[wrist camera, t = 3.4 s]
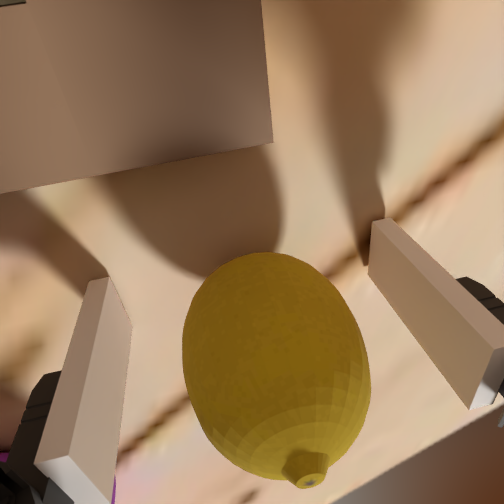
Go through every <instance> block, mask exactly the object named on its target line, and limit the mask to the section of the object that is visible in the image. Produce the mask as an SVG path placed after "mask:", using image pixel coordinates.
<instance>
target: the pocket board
mask: <svg viewBox="0 0 504 504" xmlns="http://www.w3.org/2000/svg"><path fill="white" fill-rule="evenodd" d="M268 143H273V131H272V120H271V109H270V97H269V86H268V75H267V64H266V53H265V41H264V30H263V19H262V8H261V0H0V194H2V193H7V192H12V191H18V190H23V189H28V188H34V187H39V186H44V185H50V184H55V183H60V182H66V181H71V180H76V179H82V178H87V177H92V176H98V175H103V174H108V173H114V172H119V171H124V170H130V169H135V168H140V167H146V166H151V165H156V164H162V163H167V162H172V161H178V160H183V159H188V158H194V157H199V156H204V155H210V154H215V153H220V152H226V151H231V150H236V149H242V148H247V147H252V146H257V145H263V144H268Z"/></svg>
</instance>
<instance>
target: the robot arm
mask: <svg viewBox="0 0 504 504" xmlns="http://www.w3.org/2000/svg"><path fill="white" fill-rule="evenodd" d="M368 275H369V277H370V278H371V280H372V281H373V282H374V284H375V285H376V286H377V288H378V289H379V290H380V292H381V293H382V294H383V296H384V297H385V298H386V300H387V301H388V302H389V304H390V305H391V306H392V308H393V309H394V310H395V312H396V313H397V314H398V316H399V317H400V318H401V320H402V321H403V322H404V324H405V325H406V326H407V328H408V329H409V331H410V332H411V333H412V335H413V336H414V337H415V339H416V340H417V341H418V343H419V344H420V345H421V347H422V348H423V349H424V351H425V352H426V353H427V355H428V356H429V357H430V359H431V360H432V361H433V363H434V364H435V365H436V367H437V368H438V369H439V371H440V372H441V373H442V375H443V376H444V377H445V379H446V380H447V382H448V383H449V384H450V386H451V387H452V388H453V390H454V391H455V392H456V394H457V395H458V396H459V398H460V399H461V400H462V402H463V403H464V404H465V406H466V407H467V408H468V410H472V409H475V408H479V407H483V406H487V405H491V404H493V403H494V400H495V398H496V396H497V394H498V392H499V393H500V394H501V395H502V396H503V397H504V303H503V302H502V301H501V300H500V299H499V298H496V297H495V295H494V294H493V293H492V292H491V291H489V290H488V289H487V288H486V287H485V286H484V285H482V284H480V283H478V282H476V281H474V280H472V279H470V278H468V277H463V278H458V279H455V278H453V277H452V276H451V275H450V274H449V273H448V272H447V271H446V270H445V269H444V268H443V267H442V266H441V265H440V264H439V263H438V262H437V261H435V260H434V259H433V258H432V257H431V256H430V255H429V254H428V253H427V252H426V251H425V250H424V249H423V248H422V247H421V246H420V245H419V244H417V243H416V242H415V241H414V240H413V239H412V238H411V237H410V236H409V235H408V234H407V233H406V232H405V231H404V230H403V229H402V228H401V227H399V226H398V225H397V224H396V223H395V222H394V221H393V220H392V219H391V218H386V219H381V220H376V221H372V228H371V240H370V252H369V264H368ZM132 328H133V327H132V324H131V322H130V320H129V318H128V316H127V314H126V311H125V309H124V307H123V305H122V303H121V301H120V298H119V296H118V294H117V292H116V290H115V288H114V285H113V283H112V281H111V279H110V277H106V278H101V279H96V280H92V281H89V283H88V286H87V289H86V293H85V296H84V299H83V302H82V306H81V309H80V312H79V316H78V319H77V322H76V326H75V329H74V332H73V335H72V339H71V342H70V345H69V349H68V352H67V355H66V359H65V362H64V365H63V368H62V370H61V371H57V372H53V373H48V374H44V375H43V377H42V378H41V379H40V381H39V382H38V383H37V385H36V386H35V387H34V389H33V390H32V392H31V395H30V398H29V400H28V403H27V406H26V410H25V411H24V414H23V417H22V419H21V425H19V428H18V430H17V433H16V436H15V439H14V441H13V444H12V447H11V449H10V452H9V455H8V458H7V460H6V462H2V461H0V504H111V501H112V493H113V485H114V477H115V468H116V460H117V452H118V444H119V435H120V427H121V419H122V411H123V402H124V394H125V386H126V377H127V369H128V361H129V353H130V344H131V336H132ZM503 425H504V409H503V411H502V413H501V415H500V417H499V419H498V427H503Z"/></svg>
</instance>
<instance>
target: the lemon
mask: <svg viewBox="0 0 504 504" xmlns="http://www.w3.org/2000/svg"><path fill="white" fill-rule="evenodd" d="M182 359H183V373H184V378H185V383H186V387H187V391H188V394H189V397H190V400H191V403H192V406H193V408H194V411H195V413H196V415H197V418H198V420H199V422H200V425H201V427H202V429H203V431H204V433H205V434H206V436H207V438H208V439H209V441H210V442H211V443H212V444H213V445H214V447H215V448H216V449H217V450H218V451H219V452H220V453H221V454H222V455H223V456H224V457H226V458H227V459H228V460H229V461H231V462H232V463H233V464H234V465H236V466H238V467H240V468H242V469H243V470H245V471H247V472H250V473H252V474H254V475H257V476H260V477H263V478H268V479H273V480H289V481H290V482H291V483H292V484H294V485H295V486H296V487H298V488H301V489H306V488H311V487H314V486H316V485H318V484H320V483H321V482H322V481H323V480H324V479H325V476H326V473H327V470H328V467H330V466H331V465H333V464H334V463H335V462H336V461H338V460H339V459H340V458H341V457H342V456H343V455H344V454H345V453H346V452H347V451H348V449H349V448H350V447H351V445H352V444H353V442H354V441H355V439H356V438H357V436H358V434H359V432H360V430H361V428H362V426H363V424H364V421H365V418H366V414H367V411H368V407H369V404H370V396H371V379H370V370H369V363H368V357H367V352H366V348H365V344H364V341H363V338H362V335H361V332H360V329H359V327H358V324H357V322H356V320H355V318H354V316H353V314H352V312H351V311H350V309H349V307H348V305H347V304H346V302H345V300H344V299H343V297H342V296H341V294H340V293H339V291H338V290H337V289H336V288H335V286H334V285H333V284H332V283H331V282H330V281H329V280H328V279H327V278H325V277H324V276H323V275H322V274H321V273H319V272H318V271H317V270H316V269H315V268H313V267H312V266H311V265H309V264H307V263H305V262H303V261H301V260H299V259H296V258H294V257H292V256H289V255H285V254H279V253H273V252H261V253H251V254H248V255H244V256H241V257H237V258H235V259H233V260H231V261H229V262H227V263H225V264H223V265H221V266H220V267H219V268H218V269H217V270H215V271H214V272H213V273H212V274H211V275H209V276H208V277H207V279H206V280H205V281H204V282H203V284H202V285H201V287H200V288H199V289H198V291H197V292H196V294H195V296H194V297H193V300H192V302H191V305H190V308H189V311H188V313H187V316H186V319H185V323H184V328H183V337H182Z"/></svg>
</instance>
